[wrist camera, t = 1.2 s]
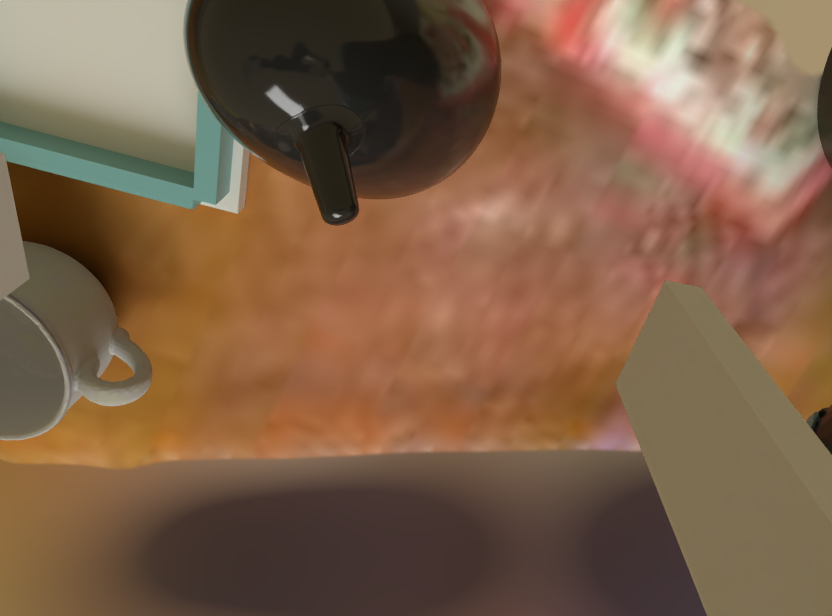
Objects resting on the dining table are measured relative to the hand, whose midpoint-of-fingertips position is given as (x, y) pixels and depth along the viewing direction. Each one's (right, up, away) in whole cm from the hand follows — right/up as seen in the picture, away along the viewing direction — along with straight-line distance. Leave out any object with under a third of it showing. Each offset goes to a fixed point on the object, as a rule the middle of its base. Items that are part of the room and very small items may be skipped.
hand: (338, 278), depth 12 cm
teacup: (-20, 0, +26) cm, 33 cm away
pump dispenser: (+1, +10, +16) cm, 20 cm away
